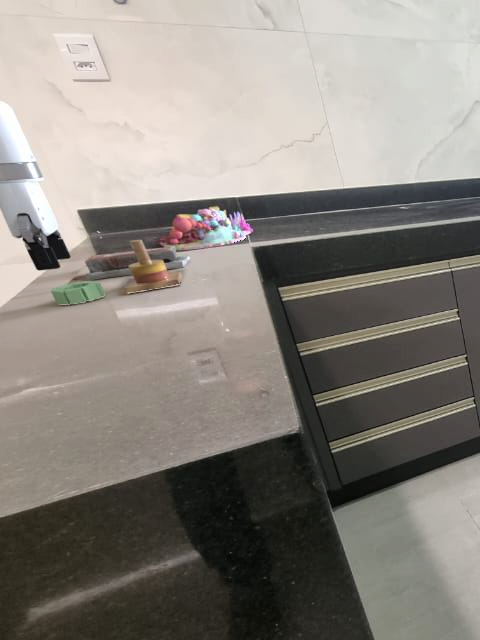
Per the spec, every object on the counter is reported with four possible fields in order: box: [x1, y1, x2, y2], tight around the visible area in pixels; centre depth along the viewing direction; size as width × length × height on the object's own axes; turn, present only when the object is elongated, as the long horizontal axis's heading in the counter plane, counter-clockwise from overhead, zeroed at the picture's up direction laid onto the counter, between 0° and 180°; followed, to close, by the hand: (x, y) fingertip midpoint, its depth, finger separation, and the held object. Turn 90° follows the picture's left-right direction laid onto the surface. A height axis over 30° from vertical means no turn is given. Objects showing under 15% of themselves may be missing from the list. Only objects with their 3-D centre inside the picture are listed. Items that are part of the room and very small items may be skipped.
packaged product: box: [84, 247, 191, 281], centre depth 129 cm, size 18×5×10 cm
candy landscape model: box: [155, 205, 254, 252], centre depth 158 cm, size 25×24×9 cm
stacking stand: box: [123, 239, 183, 294], centre depth 114 cm, size 9×9×10 cm
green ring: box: [50, 280, 106, 305], centre depth 108 cm, size 7×7×3 cm
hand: (55, 264), depth 105 cm, fingers open, 9 cm apart
